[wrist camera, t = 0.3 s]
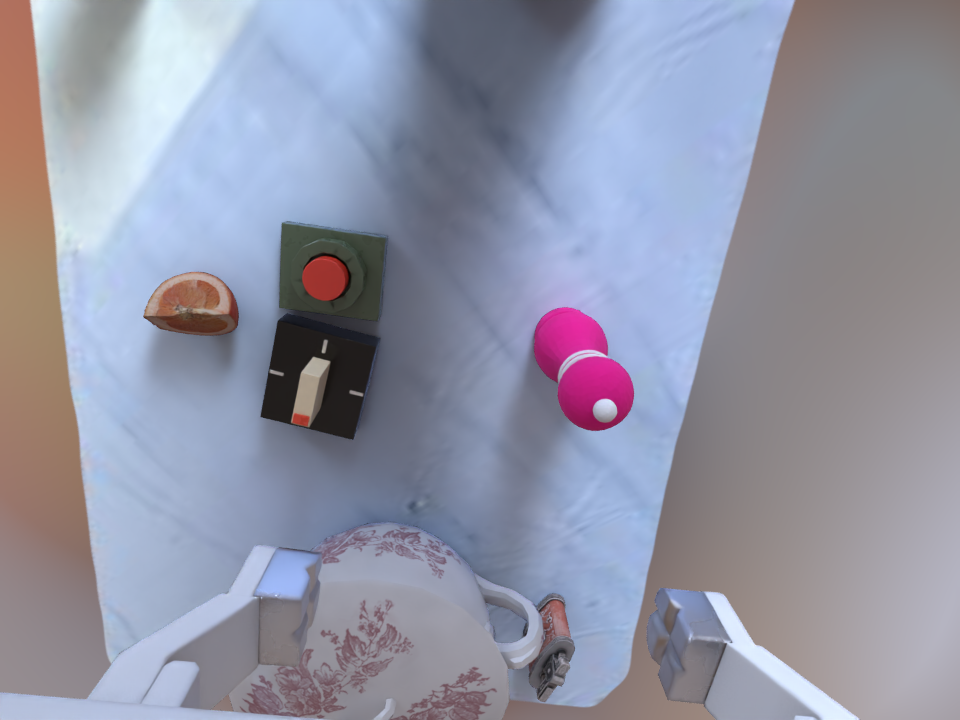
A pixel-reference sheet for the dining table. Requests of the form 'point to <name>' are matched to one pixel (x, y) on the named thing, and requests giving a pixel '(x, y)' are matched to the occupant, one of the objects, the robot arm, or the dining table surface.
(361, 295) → the button box
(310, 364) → the knob
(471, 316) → the dining table surface
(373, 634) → the chamber pot
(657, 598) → the robot arm
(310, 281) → the button
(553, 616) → the lighter
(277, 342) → the control panel
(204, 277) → the fruit slice
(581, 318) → the pepper mill
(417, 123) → the dining table surface
